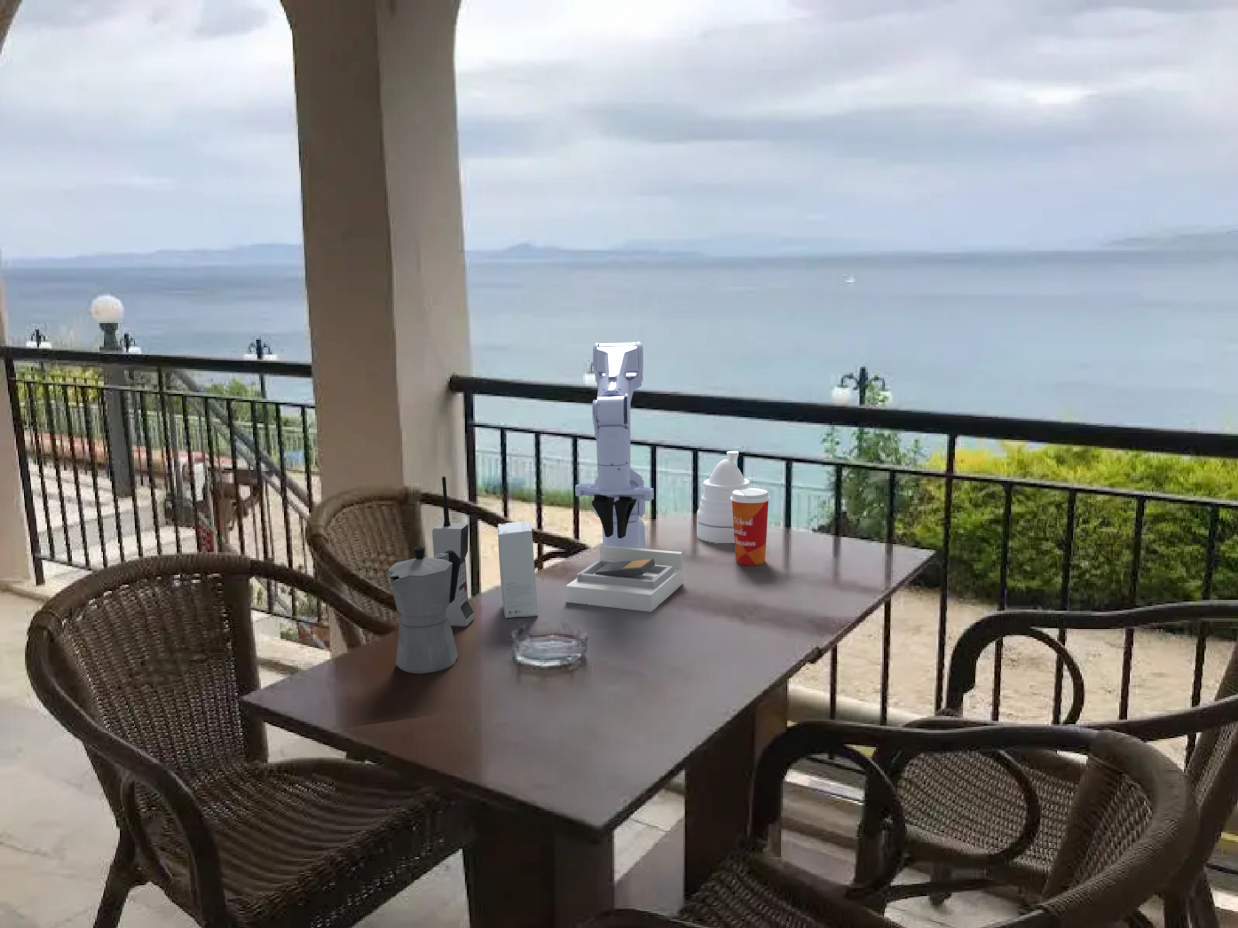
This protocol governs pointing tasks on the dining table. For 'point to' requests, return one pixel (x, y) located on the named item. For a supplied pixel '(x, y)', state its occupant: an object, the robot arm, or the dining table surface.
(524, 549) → the skincare box
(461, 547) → the vintage mobile phone
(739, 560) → the paper cup
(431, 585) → the coffeepot
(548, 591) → the dining table surface
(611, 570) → the block
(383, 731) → the dining table surface
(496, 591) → the dining table surface
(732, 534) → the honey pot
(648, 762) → the dining table surface
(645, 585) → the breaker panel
